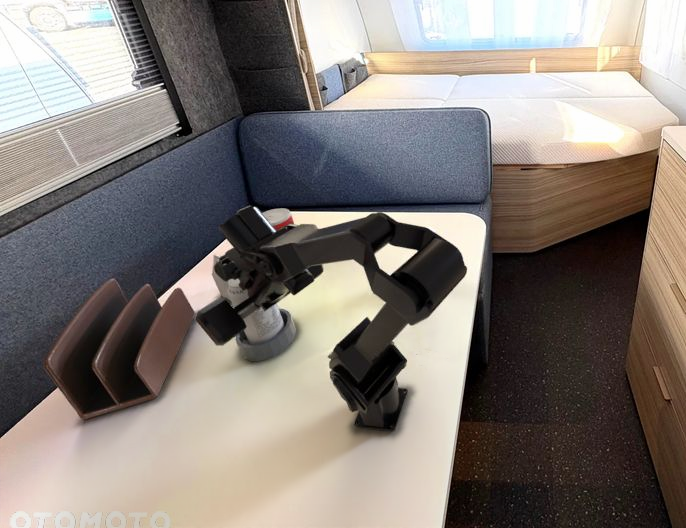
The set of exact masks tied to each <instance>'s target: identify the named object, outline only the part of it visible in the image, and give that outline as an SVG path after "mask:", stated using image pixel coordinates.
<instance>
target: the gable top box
mask: <svg viewBox="0 0 686 528" xmlns="http://www.w3.org/2000/svg"><path fill="white" fill-rule="evenodd" d="M219 257H221V255H219V254H217V253H215V254H213V264H212V269H211V277H212V279H213V281H214V283H215V285H216V288H217V291H218V292H219V294H220V297H223V298H225V299H226V300H229V301H231V300H230V297H229V295H228V287H229V284H228V282H229V280H228V281H227V282H226V281H223V280H222V279H221V278H220V277H219V276H218V275H217V274H216V273H215V271H214V265H215V264H216V262H217V261H219ZM224 265H225V264H224Z"/></svg>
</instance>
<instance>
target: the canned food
mask: <svg viewBox="0 0 686 528" xmlns="http://www.w3.org/2000/svg"><path fill="white" fill-rule="evenodd" d="M261 213H262V214H263V215H264V216H265V217H266V219H267V220H268V221H269V222H270V223H271V225H272V226H273V227H274V228H275V229H276V230H277V231H278V230H279V229H281V228H283V227H285V226H287V225H288V224H295V222H294V219H293V215H292V212H291V211H290V210H289V209H288V208H282V207H281V208H279V207H278V208H272V209H269V210H266V211H263V212H261Z"/></svg>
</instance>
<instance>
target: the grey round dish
mask: <svg viewBox="0 0 686 528" xmlns="http://www.w3.org/2000/svg"><path fill="white" fill-rule="evenodd" d="M278 309H279V311H280V314H281V317H282V319H283V322H284V325H285V328H284V329H283V330H282V331H281V332H280V333H279V334H278V335H277V336H275V337H274V338H272V339H270V340H269V341H266V342H264V343H261V344H256V345H250V343H249V341H248V338H247V336H246V334H245V332H244V330H243V331H242V332H241V333H240V334H238V335H237V336H236V337H235V338H234V340H235V343H236V345H237V347H238V349H239V351H240V354H241V355H242V357H243V358H244V359H245V360H247V361H250V362H261V361H265V360H268V359H271V358H273V357H275V356H278V354H280V353H282V352H283V351H285V350H286V349H287V347H288V348H289V346H290V345H291V344H292V343H293V341H294V339H295V338H296V333H297V329H296V325H295V322H294V319H293V317H292V314H291V313H290V311H289V310H288V309H284V308H278Z"/></svg>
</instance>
